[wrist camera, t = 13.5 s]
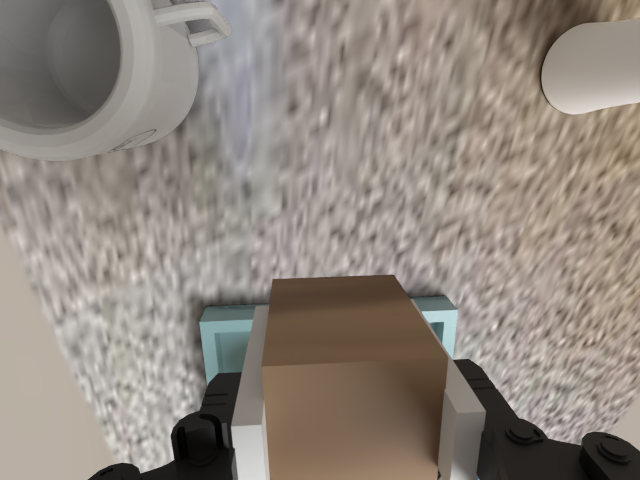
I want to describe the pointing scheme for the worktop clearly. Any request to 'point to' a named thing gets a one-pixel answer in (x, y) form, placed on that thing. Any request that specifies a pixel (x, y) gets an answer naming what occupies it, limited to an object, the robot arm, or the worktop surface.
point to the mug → (97, 73)
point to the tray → (236, 320)
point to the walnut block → (350, 382)
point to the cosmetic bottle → (594, 67)
